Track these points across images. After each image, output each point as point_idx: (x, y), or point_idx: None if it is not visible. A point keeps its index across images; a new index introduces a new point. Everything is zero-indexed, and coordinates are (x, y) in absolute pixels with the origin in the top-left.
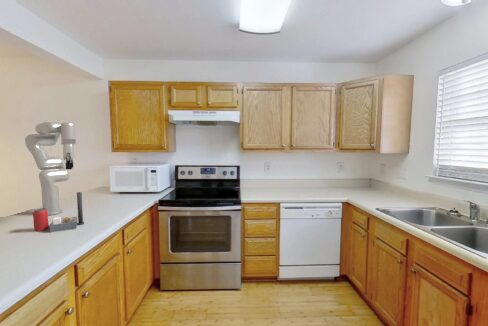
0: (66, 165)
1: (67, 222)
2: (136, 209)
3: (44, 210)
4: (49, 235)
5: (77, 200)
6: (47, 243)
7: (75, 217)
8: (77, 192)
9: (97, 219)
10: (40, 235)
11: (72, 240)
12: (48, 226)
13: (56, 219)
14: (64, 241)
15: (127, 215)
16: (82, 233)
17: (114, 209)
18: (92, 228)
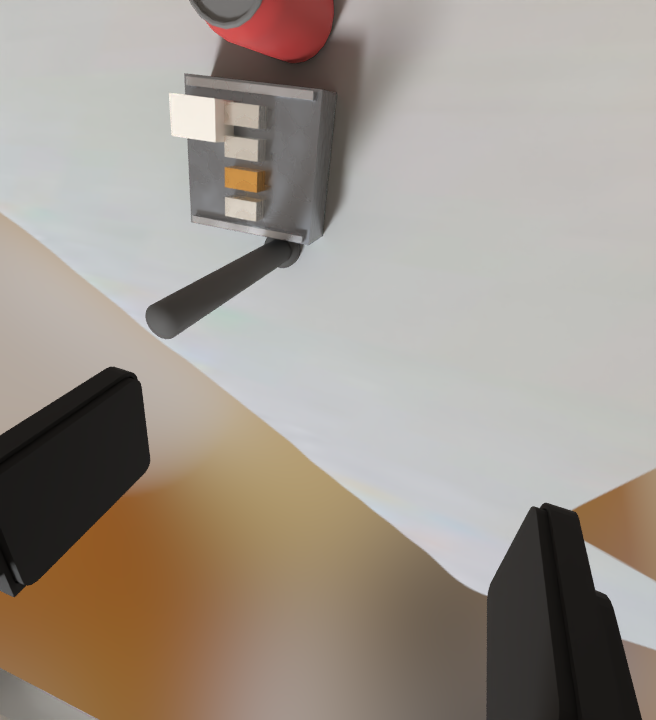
0: (31, 438)
1: (201, 178)
2: (405, 534)
3: (202, 13)
4: (156, 76)
5: (196, 281)
6: (44, 72)
7: (267, 232)
8: (167, 309)
9: (328, 339)
10: (176, 22)
11: (51, 180)
12: (287, 61)
13: (172, 114)
14: (49, 147)
15: (312, 461)
16: (125, 230)
17: (505, 474)
18: (179, 281)
